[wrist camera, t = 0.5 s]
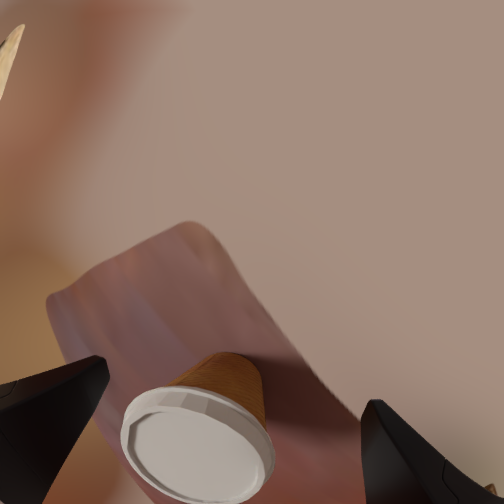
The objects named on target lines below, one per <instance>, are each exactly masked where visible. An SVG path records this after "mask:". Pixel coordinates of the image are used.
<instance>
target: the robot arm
mask: <svg viewBox="0 0 504 504" xmlns="http://www.w3.org/2000/svg"><path fill="white" fill-rule="evenodd" d="M109 380H110V374H109V370H108V366H107V362H106V360H105V358H103V357H100V356H98V355H93V356H90V357H87V358H84V359H82V360H79V361H76V362H73V363H70V364H67V365H64V366H61V367H58V368H55V369H52V370H49V371H45V372H42V373H39V374H36V375H33V376H29V377H26V378H23V379H19V380H18V381H17V380H16V381H13V382H10V383H6V384H2V385H0V504H42V502H43V500H44V499H45V497H46V495H47V493H48V491H49V489H50V487H51V485H52V483H53V482H54V480H55V478H56V476H57V474H58V473H59V471H60V469H61V467H62V465H63V463H64V462H65V460H66V458H67V457H68V455H69V453H70V452H71V450H72V448H73V446H74V445H75V443H76V441H77V440H78V438H79V436H80V435H81V433H82V431H83V430H84V428H85V426H86V425H87V423H88V421H89V420H90V418H91V417H92V415H93V413H94V411H95V409H96V407H97V405H98V403H99V401H100V399H101V397H102V395H103V393H104V391H105V389H106V387H107V385H108V382H109ZM361 458H362V468H363V476H364V484H365V494H366V504H504V498H501V497H499V496H496V495H494V494H493V493H491V492H490V491H488V490H487V489H485V488H484V487H482V486H480V485H479V484H478V483H476V482H474V481H473V480H471V479H470V478H469V477H468V476H466V475H465V474H464V473H462V472H461V471H460V470H459V469H457V468H456V467H455V466H454V465H453V464H452V463H450V462H449V461H448V460H447V459H445V457H444V456H443V455H441V454H440V453H439V452H438V451H437V450H436V449H435V448H434V447H433V446H431V444H429V443H428V442H427V441H426V440H425V439H424V438H423V437H422V436H421V435H420V434H418V433H417V432H416V431H415V430H414V429H413V428H412V427H411V426H410V425H409V424H407V423H406V421H404V420H403V419H402V418H401V417H400V416H399V415H398V414H397V413H396V412H395V411H394V410H393V409H392V408H391V407H389V406H388V405H387V404H386V403H385V402H384V401H383V400H381V399H371V400H370V401H369V402H368V403H367V406H366V408H365V410H364V412H363V414H362V417H361Z"/></svg>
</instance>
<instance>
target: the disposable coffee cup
mask: <svg viewBox="0 0 504 504" xmlns="http://www.w3.org/2000/svg"><path fill="white" fill-rule="evenodd" d="M121 444H122V448H123V451H124V453H125V456H126V458H127V459H128V461H129V462H130V464H131V466H132V467H133V469H134V470H135V471H136V472H137V473H138V474H139V475H140V476H141V477H142V478H143V479H144V480H145V481H147V482H148V483H149V484H150V485H152V486H153V487H154V488H156V489H158V490H159V491H161V492H163V493H164V494H166V495H168V496H171V497H173V498H175V499H177V500H180V501H183V502H186V503H190V504H238V503H241V502H243V501H246V500H248V499H249V498H251V497H252V496H253V495H255V494H256V493H257V492H258V491H259V490H260V488H261V486H262V485H263V484H264V483H265V482H267V481H268V479H269V477H270V476H271V474H272V472H273V469H274V466H275V451H274V448H273V445H272V442H271V439H270V437H269V435H268V434H267V431H266V420H265V408H264V399H263V388H262V379H261V375H260V373H259V371H258V369H257V368H256V367H255V366H254V364H252V363H251V362H250V361H249V360H248V359H246V358H244V357H242V356H240V355H237V354H234V353H227V352H222V353H216V354H213V355H210V356H208V357H207V358H205V359H204V360H203V361H201V362H200V363H198V364H197V365H195V366H194V367H192V368H191V369H189V370H187V371H186V372H185V373H183V374H182V375H181V376H179V377H178V378H176V379H175V380H173V381H172V382H170V383H169V384H167V385H166V386H164V387H159V388H156V389H153V390H150V391H147V392H144V393H143V394H141V395H140V396H138V397H136V398H135V399H134V400H133V401H132V402H131V404H130V405H129V406H128V408H127V410H126V412H125V415H124V421H123V426H122V430H121Z"/></svg>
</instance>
